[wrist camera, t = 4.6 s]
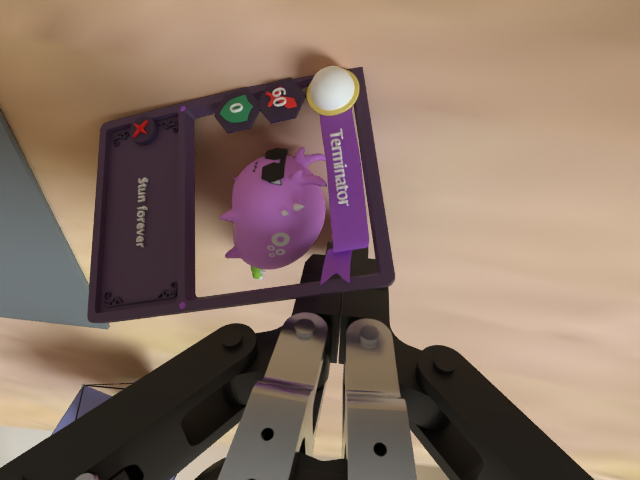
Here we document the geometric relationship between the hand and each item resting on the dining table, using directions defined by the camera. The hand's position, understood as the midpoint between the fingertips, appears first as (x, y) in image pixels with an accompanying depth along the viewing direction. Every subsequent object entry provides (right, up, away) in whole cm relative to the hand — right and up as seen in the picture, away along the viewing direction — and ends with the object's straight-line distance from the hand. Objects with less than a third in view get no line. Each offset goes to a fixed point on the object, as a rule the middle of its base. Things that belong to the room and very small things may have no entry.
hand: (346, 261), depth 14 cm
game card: (-8, +1, 0) cm, 8 cm away
